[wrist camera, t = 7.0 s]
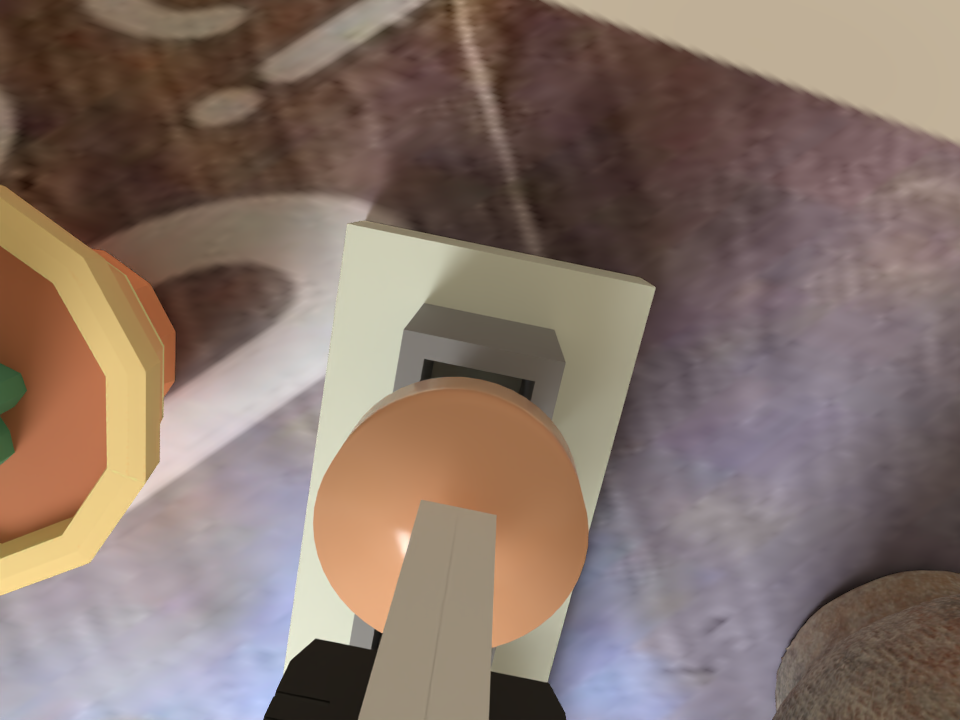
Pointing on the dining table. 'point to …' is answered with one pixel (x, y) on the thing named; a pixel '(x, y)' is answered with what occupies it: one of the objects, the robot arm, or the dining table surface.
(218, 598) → the dining table surface
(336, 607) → the console
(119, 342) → the potted cactus
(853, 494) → the dining table surface
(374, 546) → the terracotta plunger
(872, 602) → the ceramic pot
